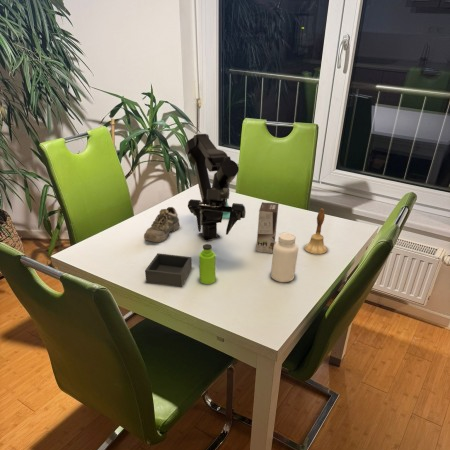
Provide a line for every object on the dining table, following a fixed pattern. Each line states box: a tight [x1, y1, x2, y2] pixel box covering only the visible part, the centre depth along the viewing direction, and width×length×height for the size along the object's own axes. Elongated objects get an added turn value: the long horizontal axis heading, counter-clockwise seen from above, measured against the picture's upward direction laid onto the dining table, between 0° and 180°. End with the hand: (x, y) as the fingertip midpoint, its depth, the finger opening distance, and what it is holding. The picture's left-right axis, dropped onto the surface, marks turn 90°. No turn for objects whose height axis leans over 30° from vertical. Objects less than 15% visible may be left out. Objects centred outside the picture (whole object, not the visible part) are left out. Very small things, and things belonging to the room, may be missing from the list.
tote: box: [144, 252, 193, 288], centre depth 137 cm, size 12×12×4 cm
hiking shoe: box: [143, 206, 181, 243], centre depth 162 cm, size 9×21×12 cm
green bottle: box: [198, 243, 216, 285], centre depth 132 cm, size 5×5×12 cm
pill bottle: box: [270, 232, 299, 283], centre depth 134 cm, size 8×8×15 cm
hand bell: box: [304, 207, 328, 255], centre depth 151 cm, size 8×8×16 cm
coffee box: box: [255, 201, 279, 254], centre depth 152 cm, size 9×6×16 cm
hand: (212, 233), depth 135 cm, fingers open, 9 cm apart
